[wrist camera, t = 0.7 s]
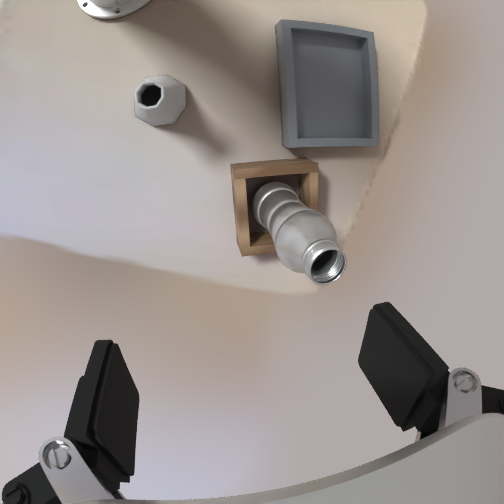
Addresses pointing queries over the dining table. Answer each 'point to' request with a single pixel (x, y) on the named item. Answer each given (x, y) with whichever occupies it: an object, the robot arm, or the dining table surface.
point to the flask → (160, 100)
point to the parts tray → (327, 85)
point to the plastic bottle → (299, 233)
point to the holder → (240, 171)
